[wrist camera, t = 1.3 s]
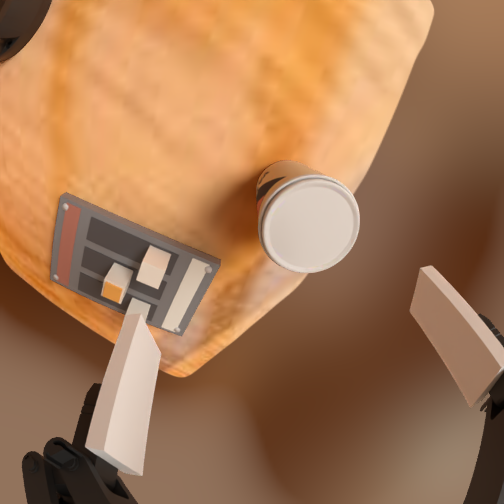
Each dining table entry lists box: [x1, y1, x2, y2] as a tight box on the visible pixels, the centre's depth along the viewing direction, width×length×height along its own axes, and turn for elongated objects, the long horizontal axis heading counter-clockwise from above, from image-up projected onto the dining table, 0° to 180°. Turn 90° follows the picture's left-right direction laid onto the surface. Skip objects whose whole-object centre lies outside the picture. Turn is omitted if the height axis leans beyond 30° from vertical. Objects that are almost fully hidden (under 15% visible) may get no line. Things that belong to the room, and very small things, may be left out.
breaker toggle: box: [101, 262, 133, 304], centre depth 34 cm, size 3×3×4 cm
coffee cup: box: [256, 160, 360, 273], centre depth 28 cm, size 9×9×12 cm
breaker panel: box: [50, 192, 221, 336], centre depth 35 cm, size 24×15×6 cm, turn 62°
